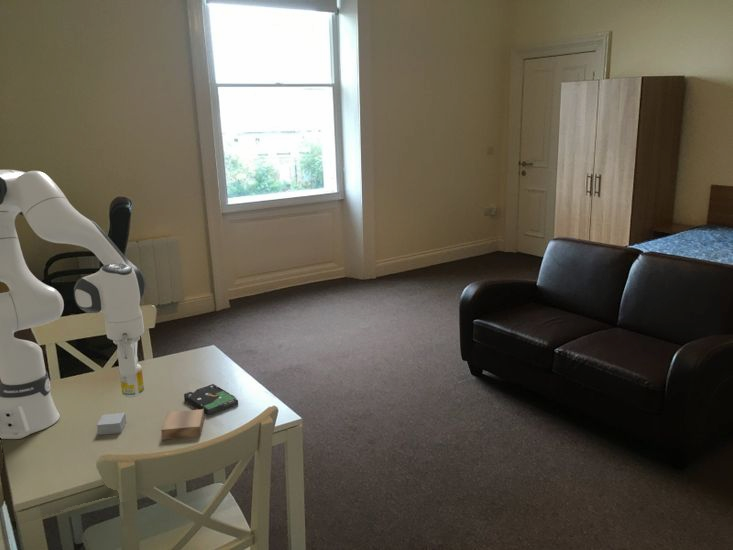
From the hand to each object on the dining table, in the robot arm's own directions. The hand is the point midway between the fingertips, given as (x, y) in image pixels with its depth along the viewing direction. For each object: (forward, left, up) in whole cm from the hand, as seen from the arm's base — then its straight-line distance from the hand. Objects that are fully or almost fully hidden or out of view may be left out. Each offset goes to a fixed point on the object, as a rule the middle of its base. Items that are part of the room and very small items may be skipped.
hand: (131, 378), depth 155 cm
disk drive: (+16, +22, -20) cm, 34 cm away
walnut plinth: (+10, +7, -19) cm, 23 cm away
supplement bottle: (0, 0, -4) cm, 4 cm away
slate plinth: (-10, +11, -19) cm, 24 cm away
